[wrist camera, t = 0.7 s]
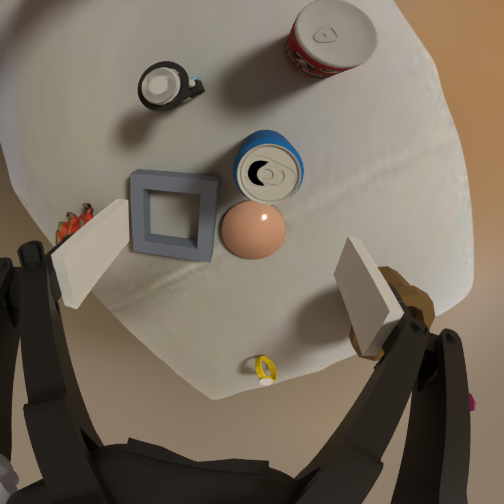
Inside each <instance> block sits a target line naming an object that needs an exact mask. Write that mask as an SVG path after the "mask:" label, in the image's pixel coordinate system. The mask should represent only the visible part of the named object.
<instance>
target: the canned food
mask: <svg viewBox="0 0 504 504" xmlns="http://www.w3.org/2000/svg"><path fill="white" fill-rule="evenodd" d="M377 43H378V35H377V31H376V28H375V26H374V24H373V22H372V20H371V19H370V18H369V16H368V15H367V14H366V13H365V12H364V11H362V10H361V9H360V8H358V7H357V6H355V5H353V4H351V3H349V2H346V1H343V0H316V1H314V2H312V3H309V4H308V5H307V6H305V7H304V8H303V9H302V10H301V11H300V13H299V14H298V16H297V18H296V20H295V22H294V24H293V26H292V29H291V31H290V34H289V36H288V39H287V42H286V46H285V54H286V57H287V60H288V61H289V63H290V64H291V66H292V67H293V68H294V69H295V70H296V71H298V72H299V73H301V74H303V75H305V76H308V77H312V78H327V77H330V76H333V75H336V74H338V73H341V72H344V71H346V70H349V69H352V68H354V67H357V66H359V65H361V64H363V63H365V62H366V61H367V60H368V59H370V58H371V57H372V55H373V54H374V53H375V50H376V48H377Z"/></svg>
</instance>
